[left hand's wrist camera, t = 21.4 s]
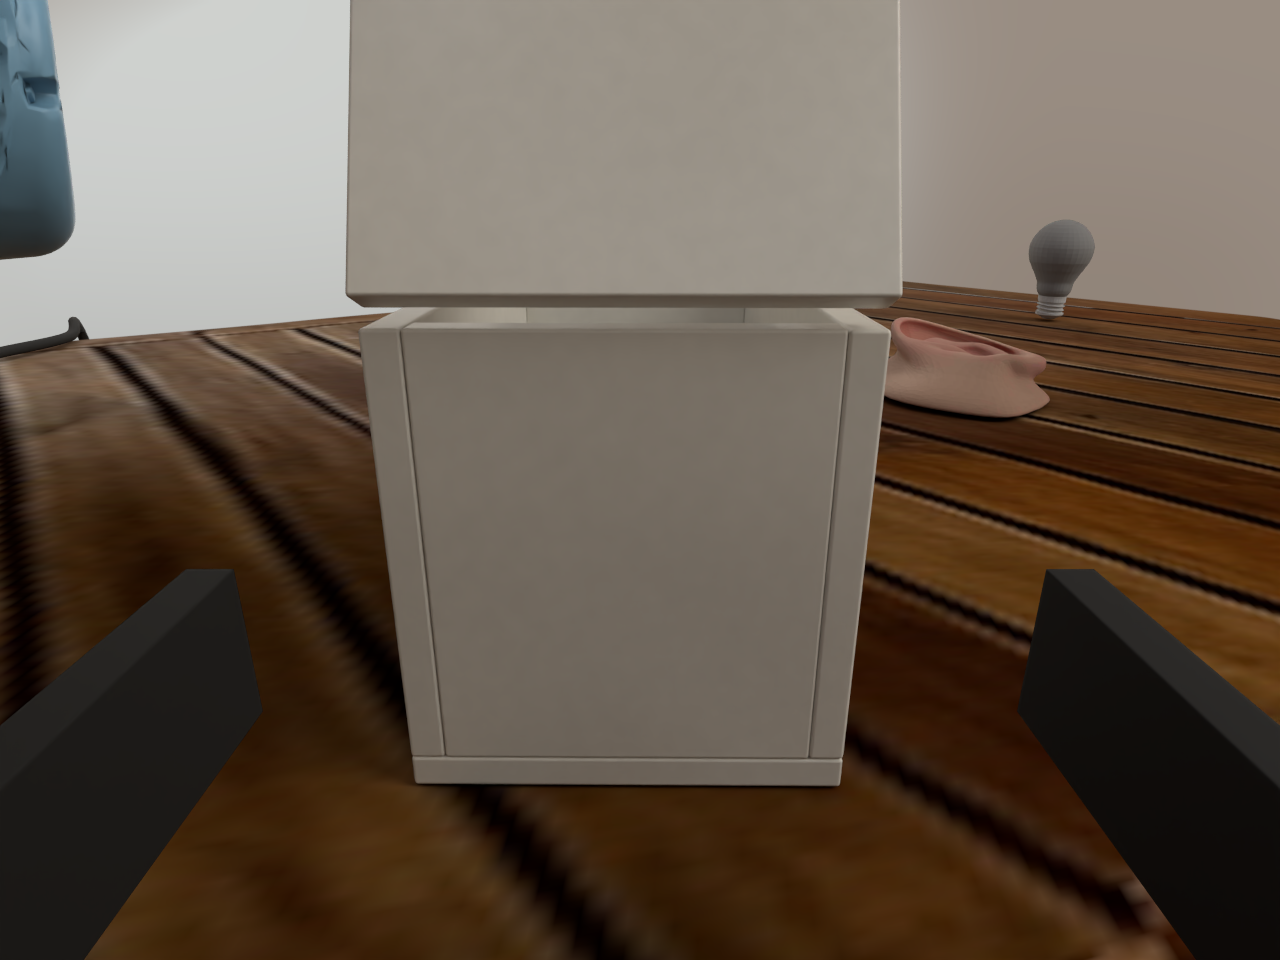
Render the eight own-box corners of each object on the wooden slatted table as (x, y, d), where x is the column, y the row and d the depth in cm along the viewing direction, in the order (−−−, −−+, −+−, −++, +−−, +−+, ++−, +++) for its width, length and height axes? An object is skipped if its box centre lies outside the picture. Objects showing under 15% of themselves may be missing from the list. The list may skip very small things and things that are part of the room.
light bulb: (1029, 322, 81) (1047, 220, 77) (1009, 313, 86) (1025, 218, 83) (1089, 323, 80) (1110, 221, 77) (1066, 314, 86) (1084, 218, 82)
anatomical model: (1069, 358, 44) (863, 343, 49) (1056, 424, 46) (856, 405, 50) (1051, 322, 56) (885, 313, 60) (1041, 377, 57) (880, 364, 61)
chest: (520, 511, 34) (505, 256, 30) (751, 512, 34) (765, 256, 30) (414, 785, 18) (356, 329, 15) (840, 788, 18) (893, 329, 15)
